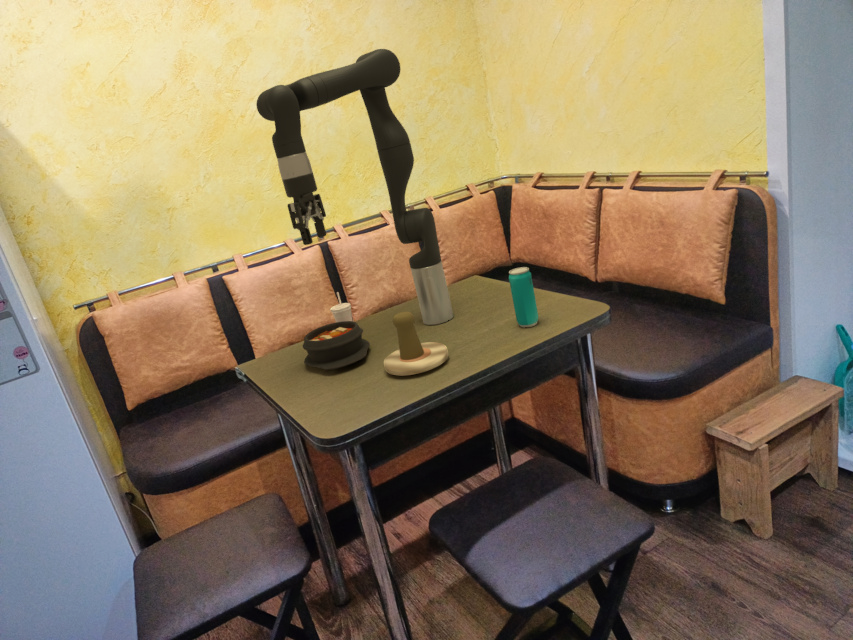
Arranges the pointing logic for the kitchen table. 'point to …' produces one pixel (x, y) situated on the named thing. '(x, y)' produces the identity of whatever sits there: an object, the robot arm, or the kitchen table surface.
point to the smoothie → (342, 311)
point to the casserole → (335, 345)
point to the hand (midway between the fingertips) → (315, 240)
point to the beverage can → (523, 297)
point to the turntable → (417, 360)
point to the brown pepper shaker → (407, 336)
